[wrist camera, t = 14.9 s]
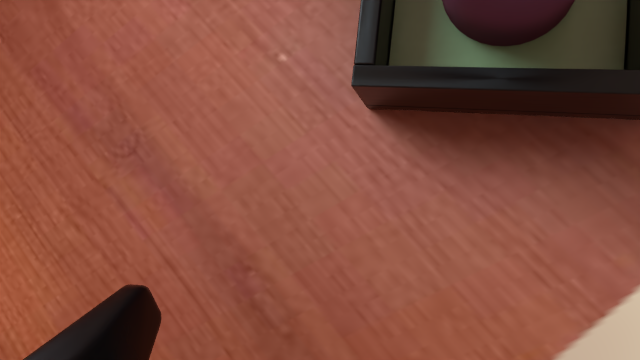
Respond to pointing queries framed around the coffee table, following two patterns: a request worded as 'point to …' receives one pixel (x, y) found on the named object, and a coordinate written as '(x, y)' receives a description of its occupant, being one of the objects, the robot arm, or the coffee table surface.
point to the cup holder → (499, 63)
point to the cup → (506, 19)
